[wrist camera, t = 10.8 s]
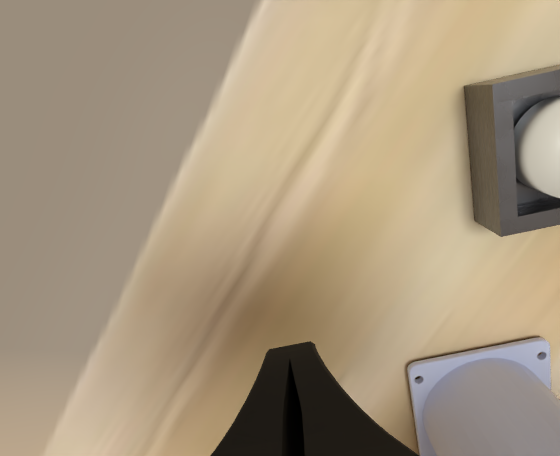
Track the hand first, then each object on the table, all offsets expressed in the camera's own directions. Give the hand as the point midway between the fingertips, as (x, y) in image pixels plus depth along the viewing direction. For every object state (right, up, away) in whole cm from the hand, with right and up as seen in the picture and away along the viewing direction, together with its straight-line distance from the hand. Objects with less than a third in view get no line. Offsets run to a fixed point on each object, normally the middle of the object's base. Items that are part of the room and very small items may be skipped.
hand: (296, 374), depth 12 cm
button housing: (+12, +9, +9) cm, 17 cm away
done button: (+12, +8, +7) cm, 16 cm away
